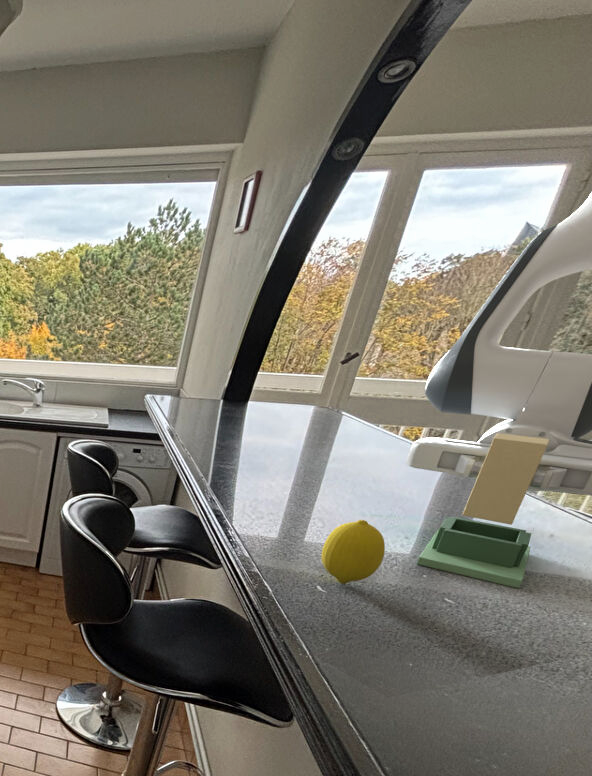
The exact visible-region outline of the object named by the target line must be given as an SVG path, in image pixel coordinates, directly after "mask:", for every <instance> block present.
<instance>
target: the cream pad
mask: <svg viewBox="0 0 592 776" xmlns="http://www.w3.org/2000/svg"><path fill="white" fill-rule="evenodd" d="M548 442H549V439H544V438H535V437H526V436H518V435H509V434H501V433H497V435H496V436H495V437H494V439H493V441H492V443H491V446H490V448H489V451H488V453H487V456H486V458H485V460H484V463H483V465H482V468H481V470H480V473H479V475H478V477H477V480H476V479H475V482H474V485H473V486H472V487H473V488H472V489H471V492H470V495H469V497H468V499H467V502H466V504H465V506H464V509H463V511H462V514H461V516H464V517H469V518H474V519H480V520H483V521H484V520H485V521H489V522H494V523H501V524H506V525H513V523H514V521H515V518H516V516H517V514H518V512H519V509H520V508H521V506H522V503H523V501H524V499H525V496H526V494H527V492H528V491H527V490H528V487H529V485H530V483H531V481H532V478H533V476H534V474H535V472H536V470H537V467H538V465H539V463H540V461H541V458H542V456H543V454H544V452H545V450H546V447H547V445H548Z"/></svg>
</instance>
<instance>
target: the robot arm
mask: <svg viewBox="0 0 592 776" xmlns="http://www.w3.org/2000/svg"><path fill="white" fill-rule="evenodd" d="M589 270H592V192H591V193H590V194H589V196H588V198H586V200H585V201H584V202H583V203H582V205H580V206H579V208H578V209H576V210H575V211H574V212H573V213H572V214H571V215H570V216H568V217H567V218H565V219H564V220H563V221H562V222H560V223H558V224H554V225H552V226H549V227H546V228H544V229H542V230H541V231H540V232H539V233H538V234H537V235H536V236H535V237H534V238H533V239H532V240H531V241H530V242H529V243H528V244H527V245H526V247H525V248H524V249H523V251H521V253H520V254H519V255H518V257H517V258H516V259H515V261H514V262H513V263H512V265H510V267H509V269H508V270H507V271H506V272H505V274H504V275H503V276H502V278H501V279H500V281H499V282H498V284H497V285H496V286H495V288H494V289H493V291H492V292H491V293H490V295H489V296H488V297H487V299H486V300H485V302H484V303H483V304H482V306H481V307H480V308H479V310H478V311H477V313H476V315H474V317H473V319H472V320H471V321H470V322H469V324H468V326H467V327H466V328H465V329H464V331H463V332H462V334H461V335H460V336H459V338H458V339H457V340H456V342H455V343H454V344H453V345H452V346H451V348H450V349H449V350H448V351H447V352H446V353H445V354H444V355H443V356H442V358H440V360H439V361H437V363H436V365H435V366H434V367H433V369H432V370H431V372H430V373H429V375H428V378H427V381H426V384H425V390H424V395H425V397H426V398H427V400H428V401H429V403H431V404H432V406H433V407H435V408H436V410H438V411H439V412H440V413H443V414H445V413H446V414H458V415H468V416H469V415H476V416H477V415H478V416H484V417H492V418H498V419H505V420H504V421H501V422H499V423H497V424H495V425H494V426H492V427H491V428H490V429H488V430H487V431H486V432H485V433H483V435H482V436H481V437H480V438H479V440H478V441H477V442H476V441H468V440H460V439H453V438H443V437H424V438H421V439H417V440H415V441H414V442H412V445H411V446H410V450H409V451H408V453H407V454H408V455H407V458H406V460H405V465H406V466H408V467H410V468H413V469H418V470H424V471H425V470H426V471H431V472H438V473H442V474H443V473H444V474H450V475H458V476H463V477H467V478H474V480H475V481H476V480H477V477H478V475H479V473H480V470H481V468H482V465H483V463H484V460H485V458H486V456H487V453H488V451H489V448H490V446H491V443H492V441H493V439H494V437H495V436H496V435H497V433H501V434H509V435H518V436H526V437H535V438H544V439H549V442H548V445H547V447H546V450H545V452H544V454H543V456H542V458H541V461H540V463H539V465H538V467H537V470H536V472H535V474H534V476H533V478H532V481H531V483H530V485H529V487H528V490H527V492H552V493H562V494H571V495H572V494H573V495H579V496H590V497H591V496H592V440H589V439H584V438H582V437H584V436H585V435H588V434H589V433H590V432H592V354H591V353H583V352H582V353H580V352H570V351H559V350H554V351H551V350H540V349H529V348H518V347H508V346H507V347H506V346H504V345H503V346H502V345H500V344H499V343H498V341H499V340H500V338H501V337H502V335H503V334H504V333H505V331H506V330H507V329H508V327H509V326H510V325H511V323H512V322H513V321H514V320H515V318H516V317H517V315H518V314H519V313H520V311H521V310H522V309H523V307H524V306H525V304H526V303H527V302H528V300H530V298H531V297H532V295H533V294H535V293H536V292H537V291H538V290H539V289H540V288H542V287H543V286H545V285H547V284H549V283H552V282H554V281H555V280H558V279H561V278H563V277H566V276H570V275H573V274H576V273H581V272H584V271H589Z"/></svg>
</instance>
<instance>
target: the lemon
mask: <svg viewBox="0 0 592 776" xmlns="http://www.w3.org/2000/svg"><path fill="white" fill-rule="evenodd" d="M385 548H386V545H385V539H384V535H382V532H380V530H379V529H377V528H376V527H375V526H374V525H372V524H370V523H368V521H367V520H366V519H358V520H357V521H350V522H345V523H343V524H340V525H338V526H337V527H335V528H334V529H333V530H332V531H331V532H330V533H329V535H328V536H327V538H326V540H325V541H324V544H323V546H322V549H321V563H322V565H323V567H324V569H325V570H326V572H327V573H328V574H330V575H331V576H332V577H334V578H335V579H336V581H337V582H338V583H339V582H340V583H339V584H342V583H343V584H342V585H345V584H348V583H350V582H358V581H362V580H365V579H367V578H369V577H371V576H372V575H374V573H376V571H377V570H378V569H379V567H381V564H382V562H383V560H384V557H385V550H386V549H385Z"/></svg>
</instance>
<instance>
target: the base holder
mask: <svg viewBox="0 0 592 776" xmlns="http://www.w3.org/2000/svg"><path fill="white" fill-rule="evenodd" d="M531 536H532V532H527V530H526V529H521V528H516V527H511V526H506V525H500V524H494V523H491V522H484V521H479V520H473V519H468V518H463V517H459V516H458V517H457V516H452V517H449V516H448V517H447V516H446V518H445V519H444V521H443V522H442V523H441V525H440V527H438V529H437V530H436V531H435V532H434V534H433V536H432V537H431V539H430V540H429V542H428V544H427V545H426V546H425V548H424V549H423V551H422V552H421V553H420V555H419V557H418V559H417V561H416V565H419V566H424V567H428V568H431V569H436V570H439V571H444V572H449V573H452V574H457V575H462V576H465V577H470V578H474V579H478V580H481V581H482V580H483V581H486V582H491V583H493V584H499V585H502V586H507V587H511V588H515V589H520V587H521V585H522V583H523V580H524V576H525V573H526V572H525V571H526V568H527V564H528V559H529V554H530V550H531V546H529V544H530V540H531Z"/></svg>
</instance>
